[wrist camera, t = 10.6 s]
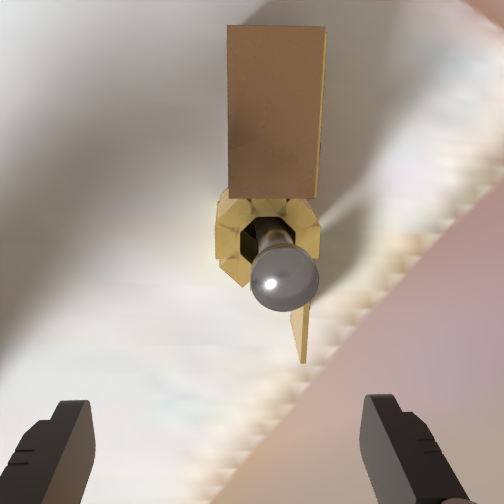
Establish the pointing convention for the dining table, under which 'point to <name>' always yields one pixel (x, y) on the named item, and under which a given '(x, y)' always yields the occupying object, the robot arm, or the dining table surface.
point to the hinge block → (272, 145)
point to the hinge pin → (281, 268)
